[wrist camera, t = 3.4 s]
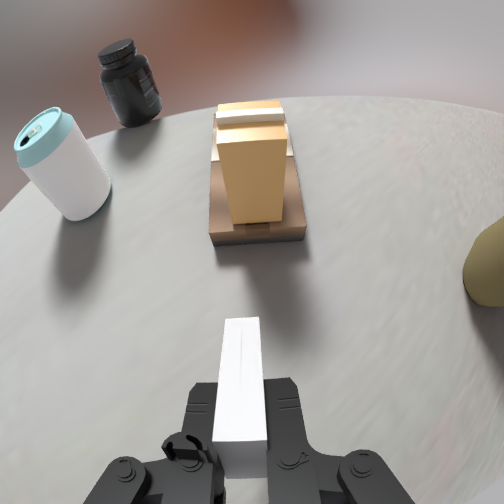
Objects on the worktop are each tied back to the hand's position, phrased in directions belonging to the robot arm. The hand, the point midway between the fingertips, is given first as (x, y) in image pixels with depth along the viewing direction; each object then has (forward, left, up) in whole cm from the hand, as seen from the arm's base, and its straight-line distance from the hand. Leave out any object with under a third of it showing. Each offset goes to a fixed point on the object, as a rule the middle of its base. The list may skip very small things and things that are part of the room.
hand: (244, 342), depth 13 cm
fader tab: (+8, -9, -8) cm, 15 cm away
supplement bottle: (+33, -11, -10) cm, 36 cm away
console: (+12, -13, -9) cm, 20 cm away
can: (+25, +2, -10) cm, 27 cm away
